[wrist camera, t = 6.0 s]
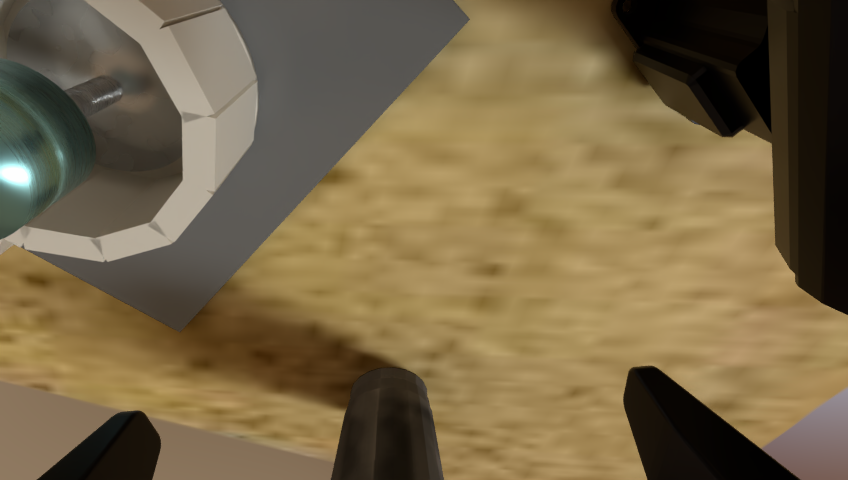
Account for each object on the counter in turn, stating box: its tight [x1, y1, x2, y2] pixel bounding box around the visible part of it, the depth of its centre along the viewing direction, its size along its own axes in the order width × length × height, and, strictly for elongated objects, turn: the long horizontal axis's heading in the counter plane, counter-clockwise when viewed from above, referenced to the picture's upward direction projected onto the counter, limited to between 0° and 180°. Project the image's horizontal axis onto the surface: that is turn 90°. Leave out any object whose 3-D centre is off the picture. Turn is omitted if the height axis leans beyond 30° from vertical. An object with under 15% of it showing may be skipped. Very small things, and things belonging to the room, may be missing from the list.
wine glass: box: [0, 0, 182, 240], centre depth 13 cm, size 6×6×8 cm
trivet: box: [22, 0, 470, 332], centre depth 17 cm, size 20×15×1 cm
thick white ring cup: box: [0, 0, 259, 262], centre depth 15 cm, size 11×9×5 cm
